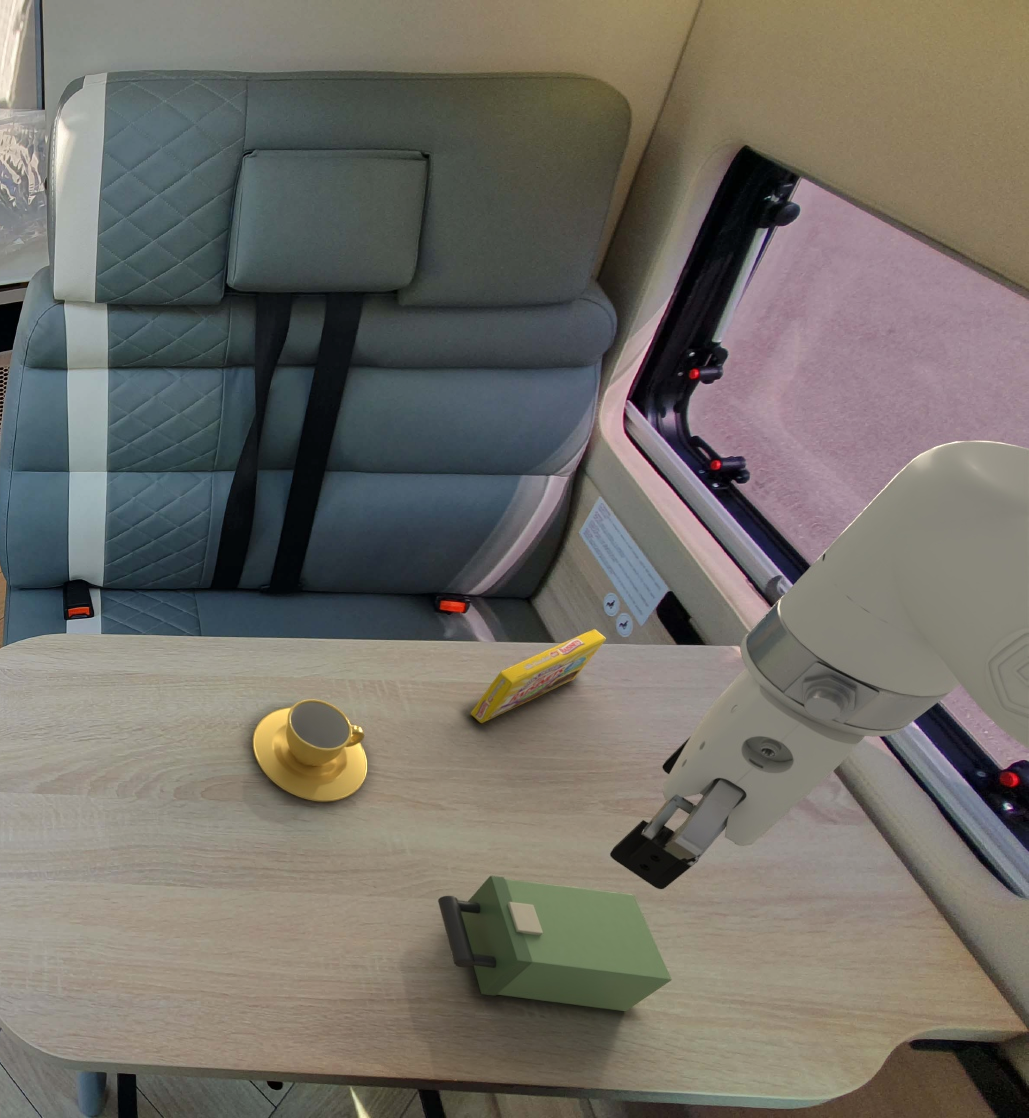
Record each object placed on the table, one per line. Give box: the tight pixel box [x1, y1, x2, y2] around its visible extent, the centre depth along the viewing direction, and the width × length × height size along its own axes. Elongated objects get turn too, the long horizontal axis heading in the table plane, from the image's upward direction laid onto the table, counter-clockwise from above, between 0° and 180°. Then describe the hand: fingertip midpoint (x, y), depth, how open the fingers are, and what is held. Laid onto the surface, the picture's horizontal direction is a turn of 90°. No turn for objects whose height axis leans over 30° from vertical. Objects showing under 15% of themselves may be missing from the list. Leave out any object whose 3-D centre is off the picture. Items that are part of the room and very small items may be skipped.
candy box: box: [470, 628, 607, 724], centre depth 91 cm, size 15×2×8 cm, turn 116°
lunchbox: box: [437, 875, 673, 1012], centre depth 69 cm, size 7×8×15 cm
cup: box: [252, 698, 368, 803], centre depth 85 cm, size 12×12×5 cm
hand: (661, 823), depth 54 cm, fingers open, 9 cm apart
